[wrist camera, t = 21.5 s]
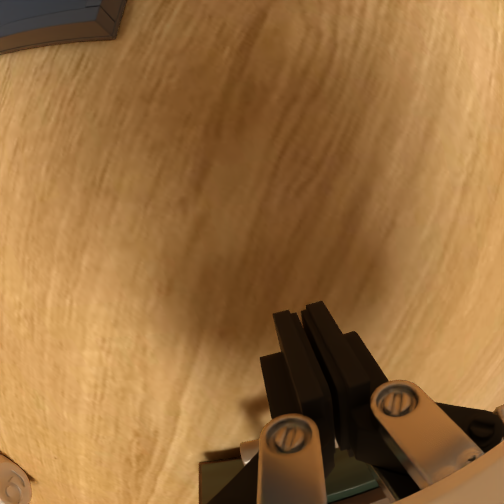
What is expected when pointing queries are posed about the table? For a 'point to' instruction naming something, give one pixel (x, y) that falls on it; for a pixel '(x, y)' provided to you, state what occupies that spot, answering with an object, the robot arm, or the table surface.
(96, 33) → the tray
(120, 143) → the table surface
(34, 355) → the table surface
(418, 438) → the robot arm
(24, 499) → the die
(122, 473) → the table surface
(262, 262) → the table surface
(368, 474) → the drawer
